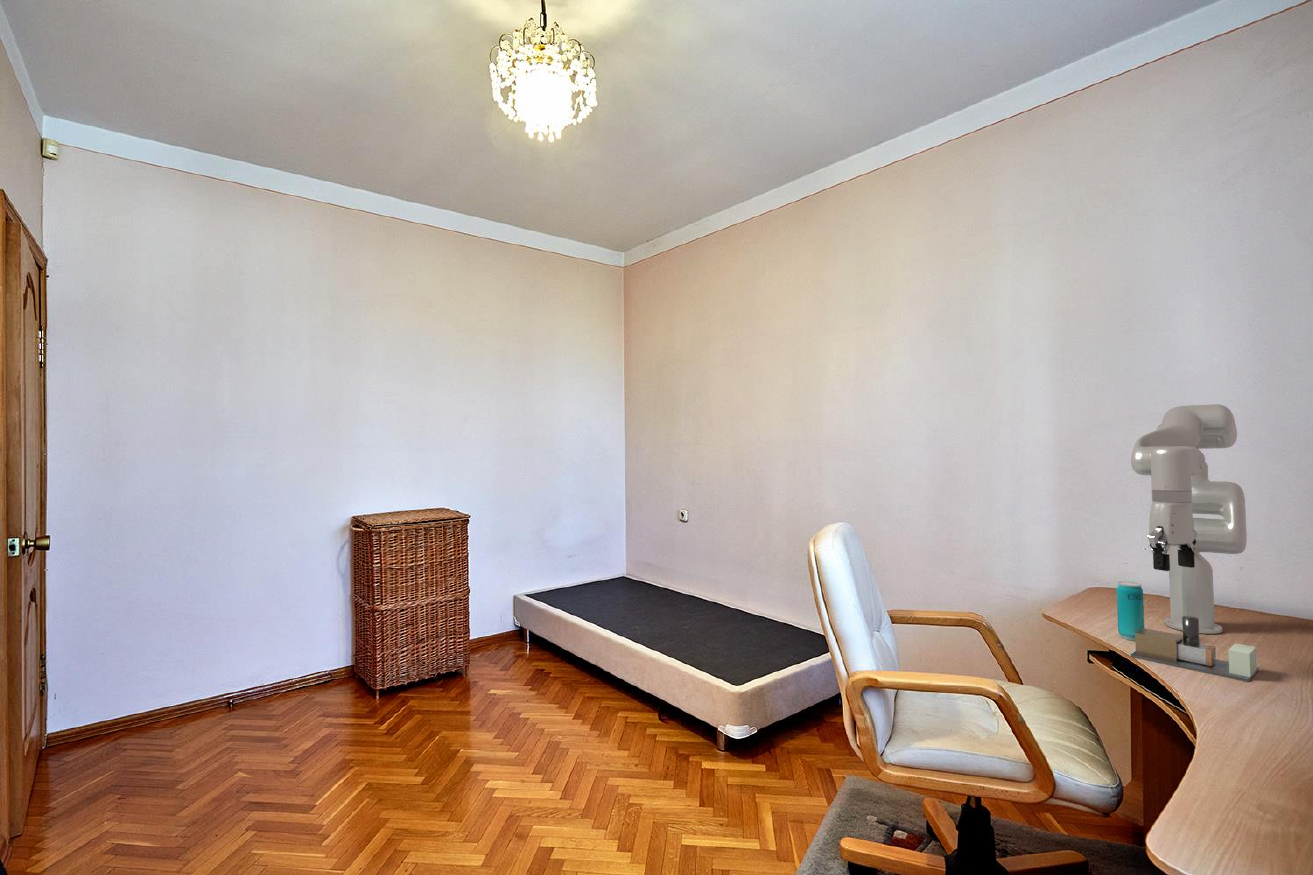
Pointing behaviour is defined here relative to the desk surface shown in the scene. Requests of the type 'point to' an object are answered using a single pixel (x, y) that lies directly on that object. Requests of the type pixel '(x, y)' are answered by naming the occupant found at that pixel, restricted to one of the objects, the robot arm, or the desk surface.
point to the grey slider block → (1194, 644)
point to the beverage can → (1130, 609)
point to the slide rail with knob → (1175, 654)
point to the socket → (1242, 660)
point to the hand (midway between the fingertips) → (1174, 568)
